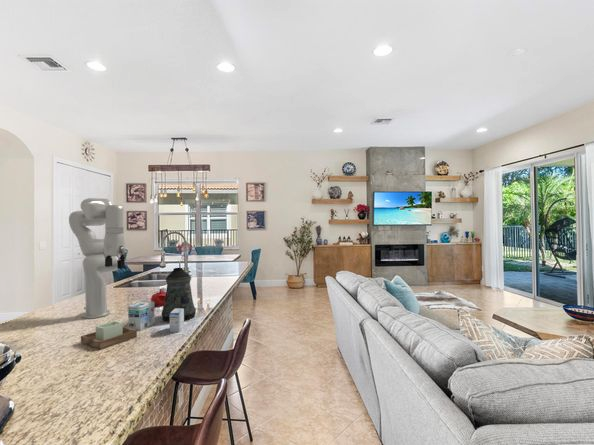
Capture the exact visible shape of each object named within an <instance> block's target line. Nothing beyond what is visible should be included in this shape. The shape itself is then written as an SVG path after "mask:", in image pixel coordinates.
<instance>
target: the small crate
mask: <svg viewBox="0 0 594 445" xmlns="http://www.w3.org/2000/svg"><path fill="white" fill-rule="evenodd" d="M122 327H123V322H121V321H117V320H112V321H109V322H106V323H102V324H99V325H96V326H95V332H96V340H99V341H103V340H106V339H109V338H112V337H115V336H118V335H122V334H123V330H122Z"/></svg>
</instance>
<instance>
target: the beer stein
mask: <svg viewBox="0 0 594 445" xmlns="http://www.w3.org/2000/svg"><path fill="white" fill-rule="evenodd" d="M191 280H192V276H191V275H190V274H189V273H188V272H186V271H185V270H184V268H182V267H174V268H173V270H172V271H170V273H169V274H168V275H167V276H166V278H165V282H166V291H165V292H166V296H165V303H164V305H163V308H162V310H161V316H162V317H161V318H162V320H163V321H164V322H165V323H166V322H167V323H170V313H171V312H172V311H173V310H174V309H176V308H183V309H184V322H186V321H190V319H191V320H192V319H194V318H195V316H196V312H197V310H196V309H197V308H196V307H195V304H194V300H193V295H192V288H191Z"/></svg>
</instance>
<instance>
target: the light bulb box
mask: <svg viewBox="0 0 594 445" xmlns="http://www.w3.org/2000/svg"><path fill="white" fill-rule="evenodd" d="M127 307H128V308H127V312H128V313H127V316H128V319H127V320H128V328H130V329H134V330H137V331H142V330H145V329H146V328H148V327H150V326H152V325H155V306H154V302H151V300H150V301H149V300H148V301H147V300H141V301H140V302H136V303H134V304H131V305H128V306H127Z"/></svg>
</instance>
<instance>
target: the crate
mask: <svg viewBox="0 0 594 445" xmlns="http://www.w3.org/2000/svg"><path fill="white" fill-rule="evenodd" d="M122 330H123V334H122V335H118V336H115V337H112V338H109V339H106V340H103V341H99V340H96V331H94V332H90V333H87V334H83V335H80V344H81V345H84V346H86V347H87V346H88V347H90V348H93V349H95V350H99V351H100V350H101V351H102V350H104V349H107V348H110V347H113V346H115V345H119V344H122V343H124V342H127V341H130V340H132V339H136V338H137V337H138V330H134V329H130V328H129V327H126V326H122Z"/></svg>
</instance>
